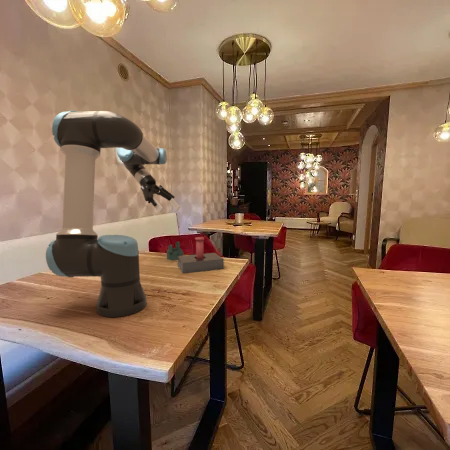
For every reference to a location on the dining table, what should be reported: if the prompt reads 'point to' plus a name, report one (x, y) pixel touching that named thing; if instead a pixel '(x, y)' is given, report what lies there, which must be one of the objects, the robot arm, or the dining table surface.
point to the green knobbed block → (174, 252)
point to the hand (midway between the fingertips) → (170, 209)
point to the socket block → (200, 263)
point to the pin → (199, 247)
